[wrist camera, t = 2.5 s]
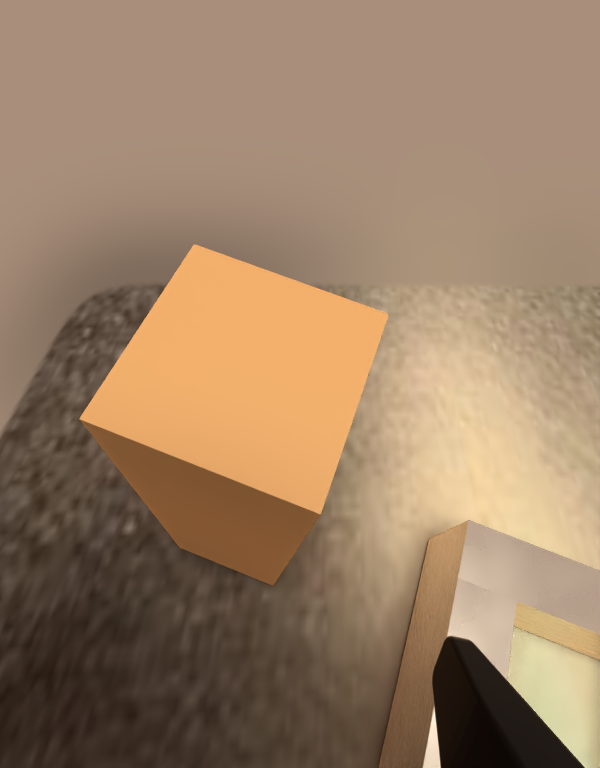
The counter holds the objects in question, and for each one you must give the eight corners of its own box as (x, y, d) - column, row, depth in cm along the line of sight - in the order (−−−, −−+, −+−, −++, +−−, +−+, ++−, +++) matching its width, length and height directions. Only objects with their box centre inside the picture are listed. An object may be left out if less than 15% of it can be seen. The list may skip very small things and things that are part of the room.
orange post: (272, 586, 19) (320, 514, 7) (179, 547, 19) (78, 419, 7) (307, 491, 20) (388, 314, 9) (221, 458, 21) (194, 244, 9)
